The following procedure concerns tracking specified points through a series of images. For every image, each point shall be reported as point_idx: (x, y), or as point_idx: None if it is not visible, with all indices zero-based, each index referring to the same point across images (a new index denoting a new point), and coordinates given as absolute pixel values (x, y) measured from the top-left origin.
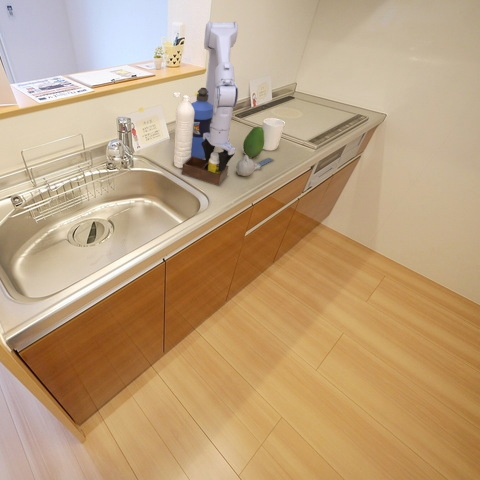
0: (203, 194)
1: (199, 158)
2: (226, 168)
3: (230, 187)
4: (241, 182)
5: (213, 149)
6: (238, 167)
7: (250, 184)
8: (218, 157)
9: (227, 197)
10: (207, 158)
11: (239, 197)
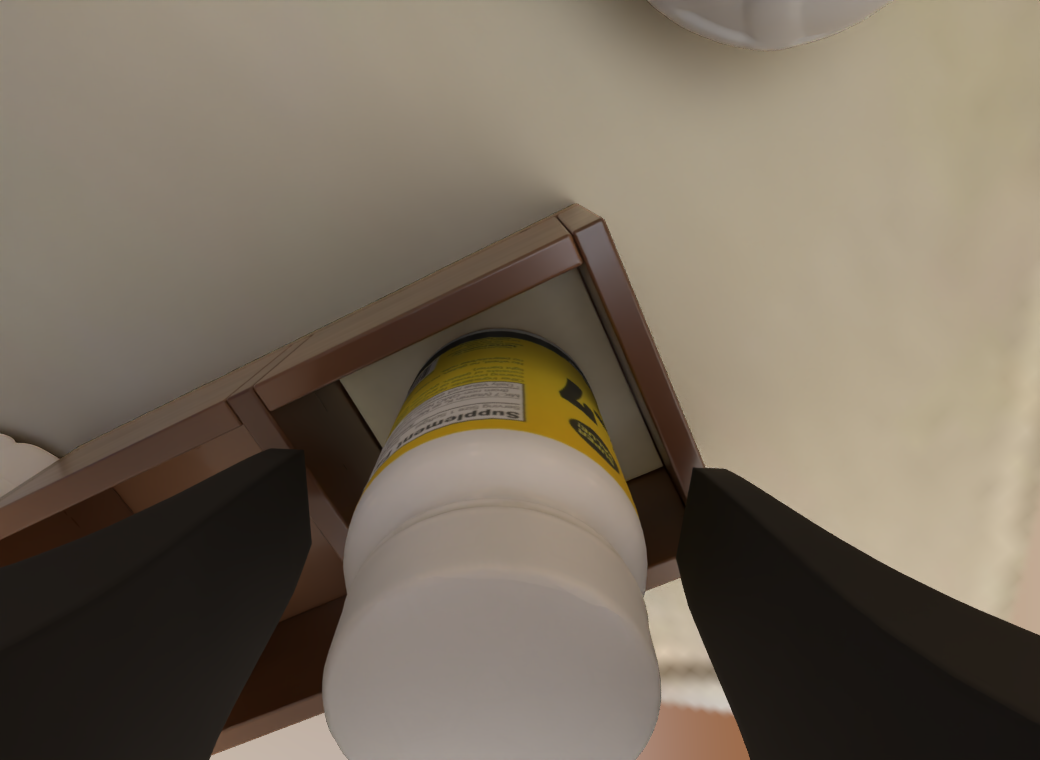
0: (702, 677)
1: (76, 491)
2: (644, 319)
3: (817, 370)
4: (851, 137)
5: (144, 585)
6: (748, 23)
7: (991, 51)
8: (642, 744)
9: (917, 532)
10: (284, 588)
11: (1026, 428)
